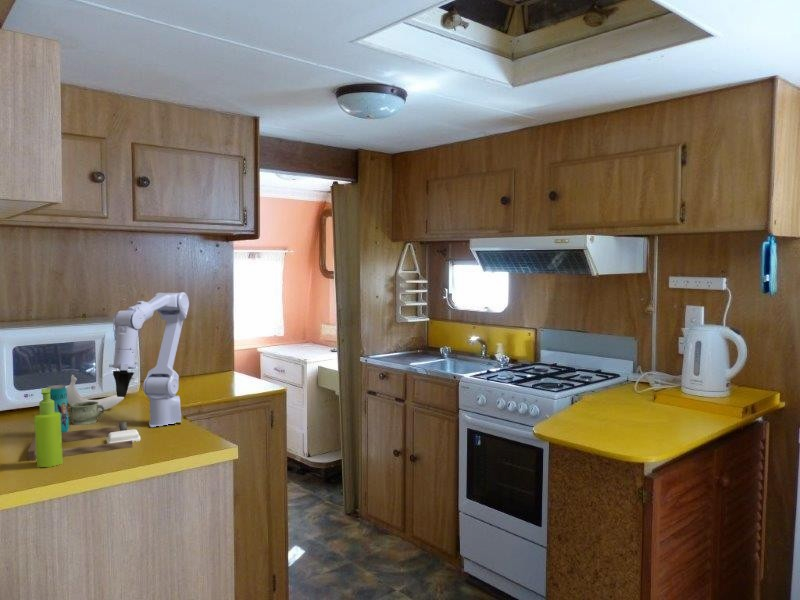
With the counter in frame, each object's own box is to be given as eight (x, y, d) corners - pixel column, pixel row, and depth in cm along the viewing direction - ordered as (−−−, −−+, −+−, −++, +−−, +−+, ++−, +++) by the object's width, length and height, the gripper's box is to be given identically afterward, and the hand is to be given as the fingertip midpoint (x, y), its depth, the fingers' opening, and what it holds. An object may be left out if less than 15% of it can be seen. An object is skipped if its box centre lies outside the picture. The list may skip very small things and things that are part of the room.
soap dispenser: (36, 470, 156) (32, 392, 155) (37, 463, 162) (33, 387, 161) (62, 466, 158) (58, 389, 158) (63, 459, 165) (59, 385, 164)
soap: (107, 446, 178) (107, 436, 177) (106, 441, 184) (106, 431, 183) (141, 442, 182) (141, 432, 182) (139, 436, 188) (138, 427, 188)
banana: (124, 410, 225) (123, 370, 224) (65, 417, 215) (63, 375, 215) (123, 407, 229) (121, 368, 228) (65, 414, 219) (63, 373, 219)
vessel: (65, 427, 201) (64, 408, 200) (64, 422, 208) (63, 403, 208) (106, 422, 207) (105, 403, 206) (103, 417, 214) (102, 399, 214)
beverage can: (59, 437, 188) (57, 388, 188) (43, 436, 189) (41, 388, 189) (73, 432, 194) (71, 384, 193) (57, 431, 195) (55, 384, 194)
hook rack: (129, 432, 192) (129, 421, 192) (132, 447, 175) (132, 434, 175) (35, 443, 181) (34, 432, 181) (28, 460, 164) (27, 447, 164)
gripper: (110, 351, 188) (106, 396, 185) (110, 347, 175) (105, 395, 172) (135, 352, 191) (131, 397, 188) (137, 348, 178) (133, 396, 175)
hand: (121, 396), depth 180 cm, fingers open, 7 cm apart
